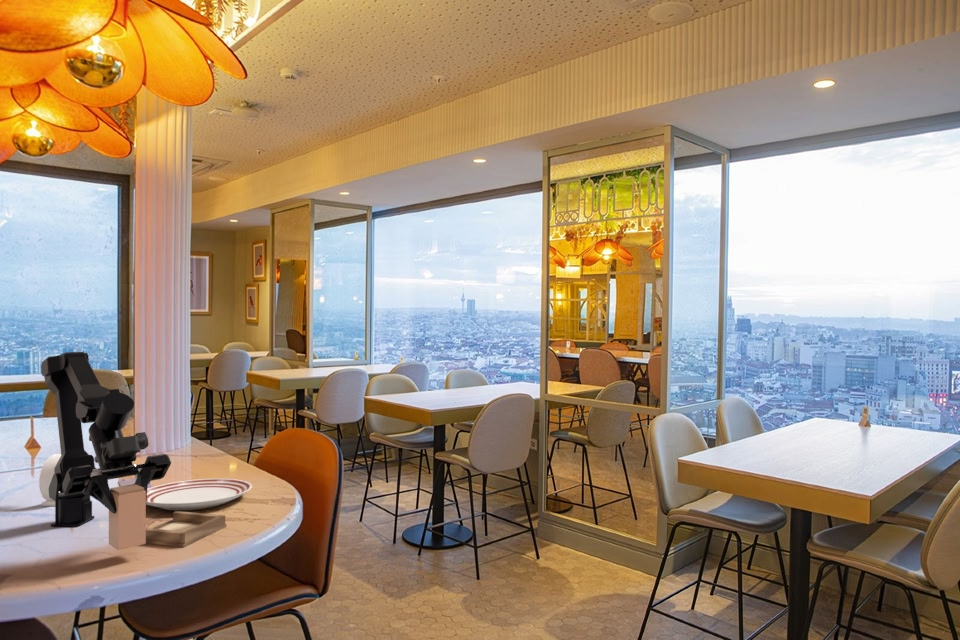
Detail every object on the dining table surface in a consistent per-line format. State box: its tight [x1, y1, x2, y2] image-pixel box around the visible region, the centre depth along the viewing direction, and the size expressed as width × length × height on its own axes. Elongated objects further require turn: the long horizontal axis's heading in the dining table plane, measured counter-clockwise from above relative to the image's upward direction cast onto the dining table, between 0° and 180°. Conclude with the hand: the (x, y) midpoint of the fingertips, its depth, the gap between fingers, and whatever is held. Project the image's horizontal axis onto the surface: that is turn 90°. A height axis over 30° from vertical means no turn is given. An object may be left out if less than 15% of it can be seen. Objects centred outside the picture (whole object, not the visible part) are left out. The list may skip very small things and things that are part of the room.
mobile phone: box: [118, 477, 154, 489], centre depth 186 cm, size 8×1×15 cm
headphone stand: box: [38, 453, 61, 507], centre depth 168 cm, size 5×6×12 cm
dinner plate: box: [146, 478, 253, 511], centre depth 171 cm, size 27×27×3 cm
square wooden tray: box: [146, 510, 227, 548], centre depth 145 cm, size 14×14×3 cm
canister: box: [108, 484, 147, 551], centre depth 130 cm, size 5×5×11 cm
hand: (130, 509), depth 129 cm, fingers closed on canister, 5 cm apart
